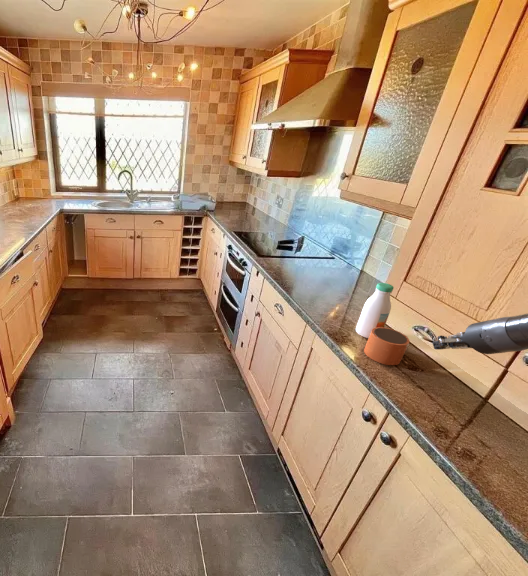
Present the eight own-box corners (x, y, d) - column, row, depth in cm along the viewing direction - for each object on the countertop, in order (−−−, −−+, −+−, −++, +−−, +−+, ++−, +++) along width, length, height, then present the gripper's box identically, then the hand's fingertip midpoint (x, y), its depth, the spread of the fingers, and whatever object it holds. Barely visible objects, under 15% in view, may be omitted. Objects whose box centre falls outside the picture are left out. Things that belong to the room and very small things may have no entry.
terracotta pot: (392, 348, 106) (401, 329, 102) (406, 367, 97) (416, 347, 93) (359, 344, 108) (366, 325, 105) (370, 362, 100) (378, 342, 96)
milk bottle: (362, 339, 110) (381, 290, 102) (350, 327, 117) (367, 280, 108) (385, 339, 110) (405, 290, 101) (371, 327, 117) (389, 280, 108)
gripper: (525, 319, 70) (456, 332, 87) (465, 319, 71) (407, 332, 87) (538, 352, 68) (464, 359, 84) (475, 352, 69) (414, 359, 85)
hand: (435, 345), depth 86 cm, fingers closed
